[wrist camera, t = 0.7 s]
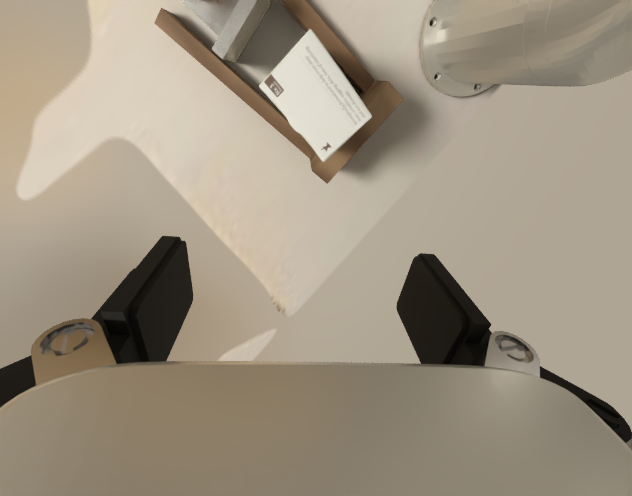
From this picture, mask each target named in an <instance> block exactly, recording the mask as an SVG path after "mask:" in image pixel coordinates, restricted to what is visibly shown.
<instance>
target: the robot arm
mask: <svg viewBox="0 0 632 496" xmlns="http://www.w3.org/2000/svg"><path fill="white" fill-rule="evenodd" d="M430 20H431V21H432V25H431V26H430V24H429V23H430ZM419 45H420V60H421V65H422V69H423V71H424V74H425V76H426V78H427V79H428V81H429V82H430V84H431V85H432V86H433V87H435V88H436V89H437V90H438V91H440V92H442V93H444V94H446V95H450V96H457V97H464V96H471V95H475V94H478V93H480V92H482V91H484V90H486V89H488V88H490V87H491V86H492V85H494V84H512V85H539V86H585V85H591V84H596V83H600V82H603V81H606V80H609V79H611V78H614V77H617V76H619V75H622V74H624V73H626V72H628V71H630V70H632V0H433V2H432V3H431V5H430V7H429V10H428V12H427V14H426V17H425V19H424V23H423V26H422V30H421V36H420V44H419ZM435 74H436V79H434V76H435ZM474 86H475V88H474ZM192 301H193V291H192V282H191V275H190V268H189V262H188V254H187V247H186V242H185V241H181V239H180V237H173V236H162V237H161V238H160V239H159V241H158V242H157V243H156V244H155V246H154V247H153V248H152V249H151V250H150V252H149V253H148V254H147V255H146V257H145V258H144V259H143V260H142V261H141V263H140V264H139V265H138V266H137V267H136V268H135V269H133V270H132V271H131V272H130V273H129V274H128V275H127V277H126V278H125V279H124V280H123V281H122V283H121V284H120V285H119V286H118V288H117V289H116V290H115V291H114V292H113V293H112V295H111V296H110V297H109V298H108V299H107V301H106V302H105V303H104V304H103V305H102V306H101V308H100V309H99V310H98V311H97V312H96V314H95V315H94V316H93V317H92V318H91V319H85V318H82V319H73V320H69V321H66V322H63V323H60V324H58V325H56V326H53V327H52V328H50V329H49V330H47V331H45V332H44V333H43V334H41V335H40V336H39V337H38V338H37V339H36V340H35V342H34V344H33V345H32V349H31V356H29V357H26V358H24V359H22V360H20V361H17V362H15V363H13V364H10V365H8V366H6V367H3V368H1V369H0V496H632V432H631V429H630V427H629V425H628V424H627V423H626V421H625V420H624V418H623V417H622V416H621V415H620V414H619V413H618V412H617V411H616V410H615V409H614V408H613V407H612V406H610V405H609V404H608V403H606V402H604V401H602V400H600V399H599V398H597V397H596V396H593V395H592V394H590V393H588V392H586V391H584V390H583V389H581V388H579V387H577V386H575V385H574V384H572V383H570V382H568V381H566V380H564V379H563V378H561V377H559V376H557V375H555V374H553V373H551V372H550V371H548V370H546V369H544V368H542V367H541V366H540V361H539V357H538V355H537V353H536V351H535V350H534V349H533V348H532V347H531V346H530V345H529V344H528V343H527V342H525V341H524V340H523V339H521V338H519V337H517V336H516V335H513V334H510V333H508V332H503V331H495V332H494V333H491V331H490V330H489V327H490V326H491V323H490V322H489V321H488V320H487V319H486V317H485V316H484V315H483V314H482V312H481V311H480V310H479V309H478V307H477V306H476V305H475V304H474V303H473V301H472V300H471V299H470V298H469V296H468V295H467V294H466V293H465V291H464V290H463V289H462V288H461V287H460V285H459V284H458V283H457V282H456V280H455V279H454V278H453V277H452V276H451V274H450V273H449V272H448V271H447V269H446V268H445V267H444V266H443V264H442V263H441V262H440V261H439V259H438V258H437V257H436V256H435V255H434V254H422V253H421V254H419V255H418V256H416V257H415V258H414V259H413V261H412V264H411V267H410V270H409V272H408V275H407V278H406V280H405V283H404V286H403V289H402V291H401V294H400V296H399V299H398V302H397V311H398V314H399V316H400V318H401V320H402V323H403V325H404V327H405V329H406V331H407V333H408V336H409V338H410V340H411V342H412V345H413V347H414V349H415V351H416V353H417V355H418V358H419V360H420V362H421V364H404V363H401V364H400V363H341V362H257V361H256V362H255V361H166V360H167V358H168V356H169V354H170V351H171V349H172V347H173V345H174V342H175V340H176V338H177V336H178V333H179V331H180V329H181V327H182V324H183V322H184V320H185V318H186V315H187V313H188V311H189V308H190V306H191V304H192Z"/></svg>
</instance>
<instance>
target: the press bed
mask: <svg viewBox="0 0 632 496" xmlns="http://www.w3.org/2000/svg"><path fill="white" fill-rule="evenodd" d="M279 2H280V3H281V4H282V5H283V6H284V7H285V8H286V9H287V10H288V11H289V13H290V14H291V15H292V16H293V17H294V18H295V19H296V20H297V21H298V23H299V24H300V25H301V26H302V27H303V28H304V29H305V30H306V31H307V32H308V30H309V29H312V31H313V32H314V33H315V34H316V36H317V37H318V38H319V40H320V41H321V43H322V44H323V45H324V47H325V48H326V49H327V51H328V52H329V54H330V55H331V57H332V58H333V60H334V61H335V62H336V64H337V65H338V66H339V68H340V69H341V70H342V71H343V72H344V73H345V74H346V75H347V77H348V78H349V79H350V80H351V81H352V82H353V83H354V84H355V85H356V86H357V88H358V89H359V90H360V91H361V92H360V93H359V97H360V98H361V100H362V101H363V103H364V104H365V106H366V107H367V109H368V110H369V112H370V113H371V115H372V118H371V119H369V120H368V121H367V122H366V123H365V124H364V125H363V126H362V127H361V128H360V129H359V130H358V131H357V132H356V133H355V134H354V135H353V136H352V137H351V138H350V139H348V140H347V141H346V142H345V143H344V144H343V145H342V146H341V147H340V148H339V149H338V150H337V151H336V152H335V153H333V154H332V155H331V156H330V157H329V158H328V159H327V160H326V161H325V162H323V161H322V160H321V159H320V158H319V157H318V155H317V154H316V152H315V151H314V150H313V148H312V147H311V146H310V145H309V144H308V142H307V141H306V140H305V139H304V138H303V137H302V135H301V134H300V133H298V132H296V131H295V130H294V129H293V128H292V126H291V125H290V124H289V122H288V120H287V118H286V117H285V116H284V115H283V114H282V113H281V112H279V111H278V110H277V109H276V108H275V107H274V106H273V105H272V104H271V103H270V102H268V101H267V100H266V99H265V98H264V97H263V96H262V95H261V94H260V93H259V92H257V91H256V90H255V89H254V88H253V87H252V86H251V85H250V84H249V83H248V82H246V81H245V80H244V79H243V78H242V77H241V76H240V75H239V74H238V73H237V72H235V71H234V70H233V69H232V68H231V67H230V66H229V65H228V64H227V63H225V62H224V61H223V60H222V59H221V58H220V57H219V56H218V55H217V54H216V53H214V52H213V51H212V50H211V49H210V48H209V47H208V46H207V45H206V44H205V43H203V42H202V41H201V40H200V39H199V38H198V37H197V36H196V35H195V34H194V33H192V32H191V31H190V30H189V29H188V28H187V27H186V26H185V25H184V24H183V23H181V22H180V21H179V20H178V19H177V18H176V17H175V16H174V15H173V14H171V13H170V12H168V11H166V10H164V9H162V8H161V10H160V12H159V14H158V16H157V18H156V21H155V24H156V25H157V26H158V27H159V28H161V29H162V30H163V31H164V32H165V33H166V34H167V35H169V36H170V37H171V38H172V39H173V40H174V41H175V42H177V43H178V44H179V45H180V46H181V47H182V48H184V49H185V50H186V51H187V52H188V53H189V54H190V55H192V56H193V57H194V58H195V59H196V60H197V61H198V62H200V63H201V64H202V65H203V66H204V67H205V68H206V69H208V70H209V71H210V72H211V73H212V74H213V75H215V76H216V77H217V78H218V79H219V80H220V81H221V82H223V83H224V84H225V85H226V86H227V87H228V88H229V89H231V90H232V91H233V92H234V93H235V94H236V95H237V96H239V97H240V98H241V99H242V100H243V101H244V102H246V103H247V104H248V105H249V106H250V107H251V108H252V109H254V110H255V111H256V112H257V113H258V114H259V115H260V116H262V117H263V118H264V119H265V120H266V121H267V122H269V123H270V124H271V125H272V126H273V127H274V128H275V129H277V130H278V131H279V132H280V133H281V134H282V135H283V136H285V137H286V138H287V139H288V140H289V141H290V142H291V143H293V144H294V145H295V146H296V147H297V148H298V149H300V150H301V151H302V152H303V153H304V154H305V155H306V156H308V157H309V158H310V162H311V168H312V171H313V172H314V173H315V174H316V175H318V176H319V177H320V178H321V179H322V180H323V181H325V182H326V183H328V182H329V181H330V180H331V179H332V178H333V177H334V176H335V175H336V173H337V172H338V171H339V170H340V169H341V168H342V167H343V166H344V165H345V163H346V162H347V161H348V160H349V159H350V158H351V157H352V156H353V155H354V153H355V152H356V151H357V150H358V149H359V148H360V147H361V146H362V145H363V144H364V142H365V141H366V140H367V139H368V138H369V137H370V136H371V135H372V134H373V132H374V131H375V130H376V129H377V128H378V127H379V126H380V125H381V124H382V123H383V121H384V120H385V119H386V118H387V117H388V116H389V115H390V114H391V113H392V111H393V110H394V109H395V108H396V107H397V106H398V105H399V104H400V103H401V101H402V100H403V98H402V97H401V96H400V95H399V93H398V92H397V91H396V90H395V89H394V87H393V86H392V85H391V84H390V83H389V82H388V81H375V80H374V79H373V78H372V77H371V76H370V74H369V73H368V72H367V71H366V70H365V69H364V67H363V66H362V65H361V64H360V63H359V62H358V61H357V59H356V58H355V57H354V56H353V55H352V54H351V52H350V51H349V50H348V49H347V48H346V47H345V45H344V44H343V43H342V42H341V41H340V40H339V39H338V37H337V36H336V35H335V34H334V33H333V32H332V30H331V29H330V28H329V27H328V26H327V25H326V23H325V22H324V21H323V20H322V19H321V18H320V17H319V15H318V14H317V13H316V12H315V11H314V10H313V8H312V7H311V6H310V5H309V4H308V3H307V1H306V0H279Z"/></svg>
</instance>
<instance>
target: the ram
mask: <svg viewBox="0 0 632 496" xmlns="http://www.w3.org/2000/svg"><path fill="white" fill-rule="evenodd" d="M181 1H182V2H183V3H184V4H185V5H186V6H187V7H188V8H190V9H191V10H192V11H193V12H194V13H195V14H196V15H197V16H198V17H199V18H200V19H201V20H202V21H203V22H204V23H205V24H207V25H208V26H209V27H210V28H211V29H212V30H213V31H214V32H215V33H216V34H217V35H218V36H219V37H218V38H217V40H216V42H215V44H214V45H213V47H212V50H213V51H214V52H215V53H216V54H217V55H218V56H219V57H220V58H221V59H223V60H227V61H232V62H236V61H237V60H238V58H239V56H240V55H241V53H242V51H243V50H244V48H245V47H246V45H247V43H248V42H249V40H250V38H251V37H252V35H253V33H254V32H255V30H256V28H257V27H258V25H259V24H260V22H261V20H262V19H263V17H264V15H265V14H266V12H267V10H268V9H269V7H270V5H271V3H270V0H181Z"/></svg>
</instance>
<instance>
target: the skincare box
mask: <svg viewBox="0 0 632 496" xmlns="http://www.w3.org/2000/svg"><path fill="white" fill-rule="evenodd" d="M259 88H260V89H261V90H262V91H263V92H264V93H265V94H266V95H267V96H268V98H269V99H270V100H271V101H272V102H273V103H274V104H275V105H276V106H277V108H278V109H279V110H280V111H281V112H282V113H283V115H284V116H285V117H286V118H287V120H288V122H289V124H290V125H291V126H292V128H293V129H294V130H295V131H296V132H298V133H300V134H301V135H302V137H303V138H304V139H305V140H306V141H307V142H308V144H309V145H310V146H311V147H312V148H313V150H314V151H315V152H316V154H317V155H318V157H319V158H320V159H321V160H322V161H323V162H325V161H326V160H327V159H328V158H329V157H330V156H331V155H332V154H333V153H335V152H336V151H337V150H338V149H339V148H340V147H341V146H342V145H343V144H344V143H345V142H346V141H347V140H348V139H350V138H351V137H352V136H353V135H354V134H355V133H356V132H357V131H358V130H359V129H360V128H361V127H362V126H363V125H364V124H365V123H366V122H367V121H368V120H369V119H371V118H372V115H371V113H370V112H369V110H368V109H367V107H366V106H365V104H364V103H363V101H362V100H361V98H360V97H359V95H358V94H357V92H356V91H355V89H354V88H353V86H352V85H351V84H350V82H349V81H348V79H347V78H346V76H345V75H344V74H343V72H342V71H341V69H340V68H339V66H338V65H337V64H336V62H335V61H334V60H333V58H332V57H331V55H330V54H329V52H328V51H327V49H326V48H325V47H324V45H323V44H322V43H321V41H320V40H319V38H318V37H317V36H316V34H315V33H314V32H313V31H312V29H309V30H308V32H307V33H306V34H305V35H304V36H303V37H302V38H301V39H300V40H299V42H298V43H297V44H296V45H295V46H294V47H293V48H292V49H291V50H290V52H289V53H288V54H287V55H286V56H285V57H284V58H283V59H282V60H281V61H280V63H279V64H278V65H277V66H276V67H275V68H274V69H273V70H272V71H271V73H270V74H269V75H268V76H267V77H266V78H265V79H264V80H263V81H262V83H261V84H260V85H259Z"/></svg>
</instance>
